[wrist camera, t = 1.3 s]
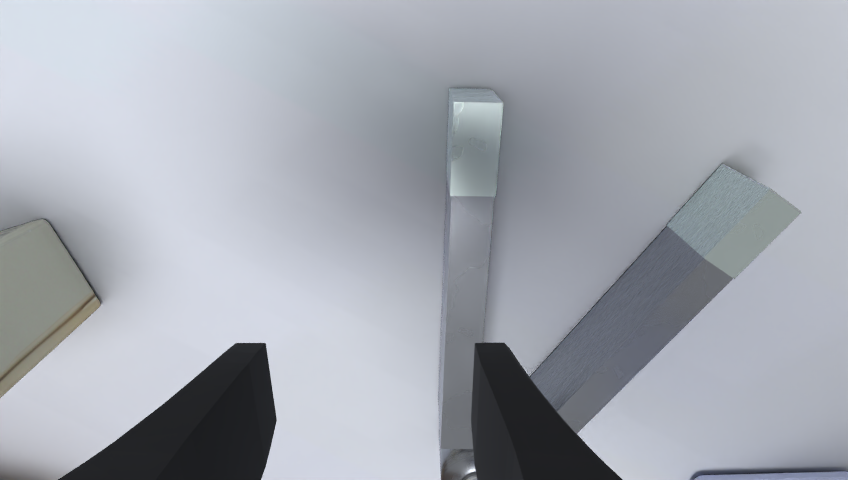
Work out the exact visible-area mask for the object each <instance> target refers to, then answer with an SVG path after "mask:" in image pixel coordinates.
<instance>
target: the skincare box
mask: <svg viewBox="0 0 848 480" xmlns="http://www.w3.org/2000/svg"><path fill="white" fill-rule="evenodd" d="M99 307H100V301H99V300H98V298H97V297H96V296H95V294H94V292H93V290H92V289H91V287H90V286H89V284H88V283H87V281H86V280H85V278H84V276H83V275H82V273H81V272H80V270H79V268H78V267H77V265H76V264H75V262H74V261H73V259H72V258H71V256H70V255H69V253H68V251H67V250H66V248H65V247H64V245H63V244H62V242H61V241H60V239H59V238H58V236H57V235H56V233H55V232H54V230H53V228H52V227H51V225H50V224H49V223H48V222H47V221H46V220H44V219H39V220H36V221H32V222H29V223H26V224H22V225H19V226H16V227H12V228H9V229H6V230H3V231H0V398H1V397H2V396H3V395H4V394H5V393H6V392H7V391H8V390H10V389H11V388H12V387H13V386H14V385H15V384H16V383H17V382H18V381H19V380H20V379H21V378H23V377H24V376H25V375H26V374H27V373H28V372H29V371H30V370H31V369H33V368H34V367H35V366H36V365H37V364H38V363H39V362H40V361H41V360H42V359H43V358H45V357H46V356H47V355H48V354H49V353H50V352H51V351H52V350H53V349H54V348H56V347H57V346H58V345H59V344H60V343H61V342H62V341H63V340H64V339H65V338H66V337H67V336H68V335H70V334H71V333H72V332H73V331H74V330H75V329H76V328H77V327H78V326H79V325H80V324H82V323H83V322H84V321H85V320H86V319H87V318H88V317H89V316H90V315H91V314H92V313H93V312H94V311H96V310H97V309H98V308H99Z"/></svg>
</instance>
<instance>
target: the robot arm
mask: <svg viewBox="0 0 848 480" xmlns="http://www.w3.org/2000/svg"><path fill="white" fill-rule="evenodd" d="M275 425H276V413H275V406H274V399H273V392H272V385H271V378H270V371H269V364H268V357H267V350H266V343H236V344H234V345H233V346H232V347H231V348H229V349H228V350H227V351H226V352H225V353H223V354H222V355H221V356H220V357H219V358H217V359H216V360H215V361H214V362H213V363H212V364H210V365H209V366H208V367H207V368H206V369H205V370H204V371H202V372H201V373H200V374H199V375H198V376H197V377H195V378H194V379H193V380H192V381H191V382H189V383H188V384H187V385H186V386H185V387H183V388H182V389H181V390H180V391H179V392H177V393H176V394H175V395H174V396H173V397H171V398H170V399H169V400H168V401H167V402H165V403H164V404H163V405H162V406H160V407H159V408H158V409H157V410H155V411H154V412H153V413H151V414H150V415H149V416H147V417H146V418H145V419H144V420H142V421H141V422H140V423H138V424H137V425H136V426H134V427H133V428H132V429H130V430H129V431H128V432H127V433H125V434H124V435H123V436H121V437H120V438H119V439H117V440H116V441H115V442H113V443H112V444H110V445H109V446H108V447H106V448H105V449H103V450H102V451H101V452H99V453H98V454H96V455H95V456H93V457H92V458H90V459H89V460H88V461H86V462H85V463H83V464H81V465H80V466H78V467H77V468H75V469H74V470H72V471H71V472H69V473H68V474H66V475H65V476H63V477H62V478H60V479H58V480H261V478H262V475H263V472H264V470H265V467H266V463H267V459H268V455H269V451H270V447H271V443H272V438H273V434H274V429H275ZM471 428H472V440H473V452H474V464H475V470H476V475H477V480H622V479H621V478H620V477H619V476H618V475H617V474H616V473H615V472H614V471H613V470H612V469H610V468H609V467H608V466H607V465H606V464H605V463H604V462H603V461H602V460H601V459H600V458H599V457H598V456H597V455H596V454H595V453H594V452H593V451H592V450H591V449H590V448H589V447H588V446H587V445H586V444H585V442H584V441H583V440H582V439H581V438H580V437H579V436H578V435H577V434H576V433H575V432H574V431H573V430H572V428H571V427H570V426H569V425H568V424H567V423H566V422H565V420H564V419H563V418H562V417H561V416H560V415H559V414H558V412H557V411H556V410H555V409H554V407H553V406H552V405H551V404H550V403H549V401H548V400H547V399H546V398H545V397H544V395H543V394H542V393H541V392H540V390H539V389H538V388H537V386H536V385H535V384H534V382H533V381H532V380H531V378H530V377H529V376H528V374H527V373H526V372H525V370H524V369H523V367H522V366H521V365H520V363H519V362H518V360H517V359H516V357H515V356H514V354H513V353H512V351H511V350H510V348H509V347H508V346H507V345H506V344H505V343H475V348H474V368H473V388H472V407H471ZM694 480H848V472H845V471H840V472H805V473H770V474H734V475H702V476H698V477H696V478H695V479H694Z"/></svg>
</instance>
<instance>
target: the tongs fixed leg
mask: <svg viewBox="0 0 848 480" xmlns="http://www.w3.org/2000/svg"><path fill="white" fill-rule="evenodd" d="M800 213H801V211H799V210H798V209H797V208H796V207H794V206H793V205H792V204H790V203H789V202H788V201H786V200H785V199H784V198H782V197H781V196H780V195H778V194H777V193H776V192H774V191H773V190H772V189H770V188H768V187H766V186H765V185H763V184H761V183H759V182H757V181H755V180H753V179H751V178H749V177H747V176H745V175H743V174H741V173H740V172H738V171H736V170H734V169H732V168H730V167H728V166H726V165H724V164H721V165H720V167H719V168H718V169H717V170H716V171H715V172H714V173H713V174H712V175H711V176H710V178H709V179H708V180H707V181H706V182H705V183H704V184H703V185H702V186H701V188H700V189H699V190H698V191H697V192H696V193H695V194H694V195H693V196H692V197H691V199H690V200H689V201H688V202H687V203H686V204H685V205H684V206H683V207H682V208H681V210H680V211H679V212H678V213H677V214H676V215H675V216H674V217H673V218H672V220H671V221H670V222H669V223H668V224H667V227H666V228H665V229H664V230H663V231H662V232H661V233H660V234H659V235H658V237H657V238H656V239H655V240H654V241H653V242H652V243H651V244H650V245H649V247H648V248H647V249H646V250H645V251H644V252H643V253H642V254H641V255H640V256H639V258H638V259H637V260H636V261H635V262H634V263H633V264H632V265H631V266H630V267H629V269H628V270H627V271H626V272H625V273H624V274H623V275H622V276H621V277H620V278H619V280H618V281H617V282H616V283H615V284H614V285H613V286H612V287H611V288H610V289H609V291H608V292H607V293H606V294H605V295H604V296H603V297H602V298H601V299H600V300H599V302H598V303H597V304H596V305H595V306H594V307H593V308H592V309H591V310H590V311H589V313H588V314H587V315H586V316H585V317H584V318H583V319H582V320H581V321H580V323H579V324H578V325H577V326H576V327H575V328H574V329H573V330H572V331H571V332H570V334H569V335H568V336H567V337H566V338H565V339H564V340H563V341H562V342H561V343H560V345H559V346H558V347H557V348H556V349H555V350H554V351H553V352H552V353H551V354H550V356H549V357H548V358H547V359H546V360H545V361H544V362H543V363H542V364H541V365H540V367H539V368H538V369H537V370H536V371H535V372H534V373H533V374H532V375H531V376H530V378H531V380H532V381H533V382H534V384H535V385H536V386H537V388H538V389H539V390H540V392H541V393H542V394H543V395H544V397H545V398H546V399H547V400H548V401H549V403H550V404H551V405H552V406H553V407H554V409H555V410H556V411H557V412H558V414H559V415H560V416H561V417H562V418H563V419H564V420H565V422H566V423H567V424H568V425H569V426H570V427H571V428H572V430H573V431H574V432H575V433H576V434H577V433H578V432H579V431H580V430H581V429H582V428H583V427H584V426H585V425H586V424H587V423H588V422H589V421H590V420H591V419H592V418H593V417H594V416H595V415H596V414H597V413H598V412H599V411H600V410H601V409H602V408H603V407H604V406H605V405H606V404H607V403H608V402H609V401H610V400H611V399H612V398H613V397H614V396H615V395H616V394H617V393H618V392H619V391H620V390H621V389H622V388H623V387H624V386H625V385H626V384H627V383H628V382H629V381H630V380H631V379H632V378H633V377H634V376H635V375H636V374H637V373H638V372H639V371H640V370H641V369H643V368H644V367H645V366H646V365H647V364H648V363H649V362H650V361H651V360H652V359H653V358H654V357H655V356H656V355H657V354H658V353H659V352H660V351H661V350H662V349H663V348H664V347H665V346H666V345H667V344H668V343H669V342H670V341H671V340H672V339H673V338H674V337H675V336H676V335H677V334H678V333H679V332H680V331H681V330H682V329H683V328H684V327H685V326H686V325H687V324H688V323H689V322H690V321H691V320H692V319H693V318H694V317H695V316H696V315H697V314H698V313H699V312H700V311H701V310H702V309H703V308H704V307H705V306H706V305H707V304H708V303H709V302H710V301H711V300H712V299H713V298H714V297H715V296H716V295H717V294H718V293H719V292H720V291H721V290H722V289H723V288H724V287H725V286H726V285H727V284H728V283H729V282H730V281H731V280H732V279H733V278H734V279H735V278H736V277H737V276H738V275H739V274H740V273H741V272H742V271H743V270H744V269H745V268H746V267H747V266H748V265H749V264H750V263H751V262H752V261H753V260H754V259H755V258H756V257H757V256H758V255H759V254H760V253H761V252H762V251H763V250H764V249H765V248H766V247H767V246H768V245H769V244H770V243H771V242H772V241H773V240H774V239H775V238H776V237H777V236H778V235H779V234H780V233H781V232H782V231H783V230H784V229H785V228H786V227H787V226H788V225H789V224H790V223H791V222H792V221H793V220H794V219H795V218H796V217H797V216H798V215H799V214H800ZM439 445H440V429H439ZM440 468H441V480H477V475H476V470H475V464H474V452H473V449H440Z"/></svg>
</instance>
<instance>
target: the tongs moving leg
mask: <svg viewBox="0 0 848 480" xmlns="http://www.w3.org/2000/svg"><path fill="white" fill-rule="evenodd" d="M502 115H503V102H502V101H501V100H500V98H499V97H498V96H497V95H496V94H495V93H494V92H493V90H492V89H471V88H449V105H448V131H447V157H446V173H447V191H446V216H445V241H444V266H443V291H442V317H441V342H440V367H439V392H438V405H439V427H440V449H473V440H472V428H471V407H472V388H473V368H474V348H475V343H483V334H484V322H485V309H486V297H487V284H488V271H489V259H490V246H491V233H492V221H493V208H494V197H496V190H497V177H498V165H499V152H500V140H501V127H502Z"/></svg>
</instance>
